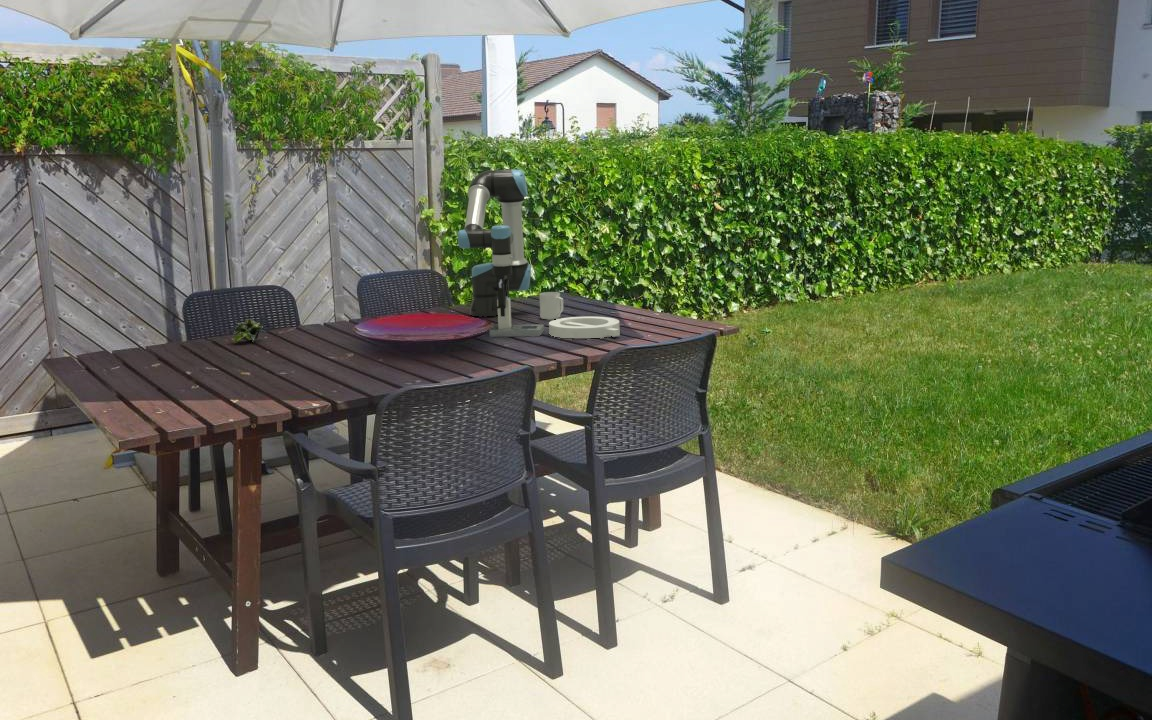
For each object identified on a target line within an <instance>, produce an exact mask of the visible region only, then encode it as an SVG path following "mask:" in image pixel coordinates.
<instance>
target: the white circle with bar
mask: <svg viewBox="0 0 1152 720" xmlns="http://www.w3.org/2000/svg"><path fill="white" fill-rule="evenodd" d="M620 330H621V329H620V320H619V319H617V318H613V317H608V316H607V317H606V316H570V317H563V318H561V317H560V318H559V319H556V320H549V322H548V333H549V334H550V335H551V336H550V335H549V336H550V337H552V336H554V337H553V338H555V337H560V338H600V339H605V338H604V337H607V338H612V337H613V338H615V337H619V336H621V331H620ZM611 336H612V337H611ZM560 338H559V339H560Z"/></svg>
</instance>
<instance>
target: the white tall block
mask: <svg viewBox="0 0 1152 720" xmlns="http://www.w3.org/2000/svg"><path fill="white" fill-rule="evenodd" d="M510 303H511V297H509V298H508V296H506V310H507V324H500V311H499V308H498V316H497V325H498V329H511V325H512V307H511V305H512V304H510ZM497 307H498V299H497Z"/></svg>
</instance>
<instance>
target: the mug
mask: <svg viewBox="0 0 1152 720" xmlns="http://www.w3.org/2000/svg"><path fill="white" fill-rule="evenodd" d="M538 295H539V316H540V318H541V319H542V320H543V319H548V320H547V321H553V320H554V319H560V318H561V313H563V312H564V298H563V297H561V294H560V292H557V291H547V292H540V293H539V294H538Z"/></svg>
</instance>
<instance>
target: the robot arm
mask: <svg viewBox="0 0 1152 720" xmlns="http://www.w3.org/2000/svg"><path fill="white" fill-rule="evenodd" d="M528 193H529V192H528V185H527V180H526V175H525V172H524V170H522V169H514V168H513V169H512V168H511V169H509V168H508V169H489V170H485V171H482V172H481V173H479V174H477V175H476V176H475V177H474V178H473V179H472V180H471V182H470V184H469V185H468V188H467V197H468V204H467V210H466V216H465V217H466V218H465V222H464V223H465V224H464V229H460V230H458V232H457V243H458V247H459V248H460V249H468V250H470V249H491V250H492V251H491V252H492V253H491V256H492V257H491V258H492V259H491V261H492V262H486V263H481V264H476V265H474V266H473V267H472V268H471V282H472V283H471V284H472V285H471V288H472V301H471V304H470V308H469V316H470V315H472V316H479V317H478V318H488V317H487V316H494V317H497V316H496V315H498V308H499V311H500V324H507V310H506V296H508V298H510V292H524V291H528V290H529V288H530V284H531V275H532V265H531V264H529V263H528V259H527V258H525V252H524V233H523V216H522V215H523V214H522V213H523V212H522V204H523V203H524V202H525V198H526V197H527V196H528ZM490 198H497V202H498V203H499V204H500V205H501V214H502V215H501V217H502V219H501V220H502V225H501V224H500V225H493V226H492V227H491V228H488V229H487V228H486V229H485V228H484V225H485V216H486V209H487V202H488V201H489V200H490ZM497 299H498V307H497ZM511 303H512V302H510V304H511ZM511 305H512V304H511ZM472 316H471V317H472ZM482 316H484V317H482Z"/></svg>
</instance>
